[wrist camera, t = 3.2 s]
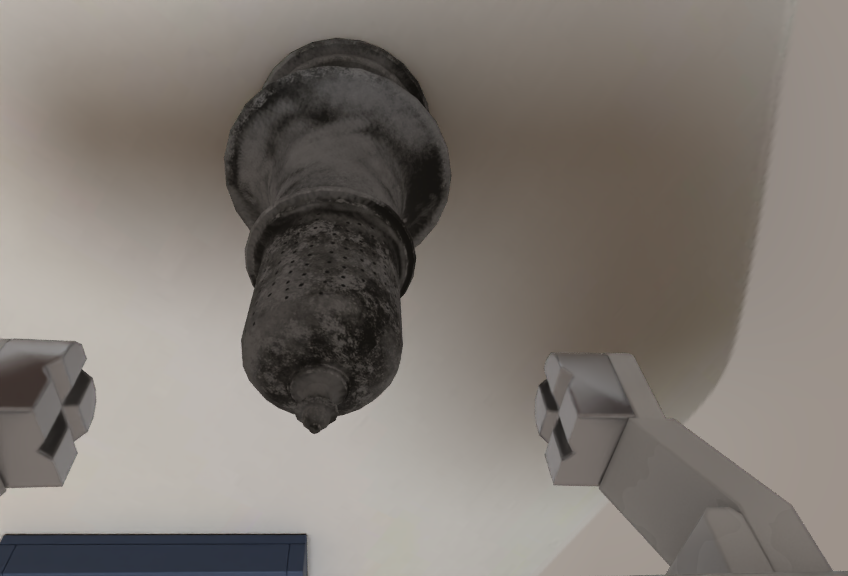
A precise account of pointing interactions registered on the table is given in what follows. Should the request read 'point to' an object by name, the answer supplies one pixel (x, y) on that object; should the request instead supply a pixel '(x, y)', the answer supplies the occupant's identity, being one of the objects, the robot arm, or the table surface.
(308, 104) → the black chess piece
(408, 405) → the table surface
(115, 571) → the tray
